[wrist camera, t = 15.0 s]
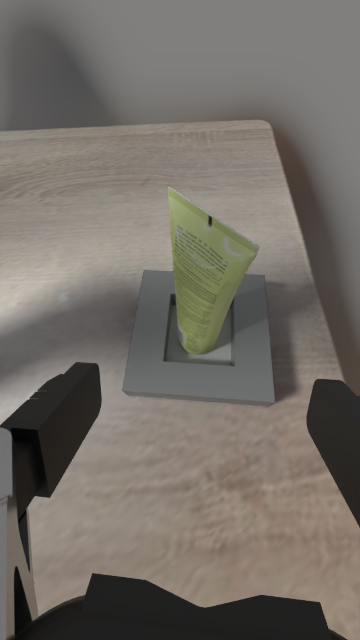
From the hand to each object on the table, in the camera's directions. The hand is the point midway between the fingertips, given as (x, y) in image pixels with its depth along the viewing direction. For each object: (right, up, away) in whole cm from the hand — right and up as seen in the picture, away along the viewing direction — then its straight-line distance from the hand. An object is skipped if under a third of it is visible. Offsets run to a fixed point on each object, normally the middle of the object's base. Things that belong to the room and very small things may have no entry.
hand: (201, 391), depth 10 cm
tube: (+2, 0, +24) cm, 24 cm away
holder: (+2, 0, +24) cm, 24 cm away
